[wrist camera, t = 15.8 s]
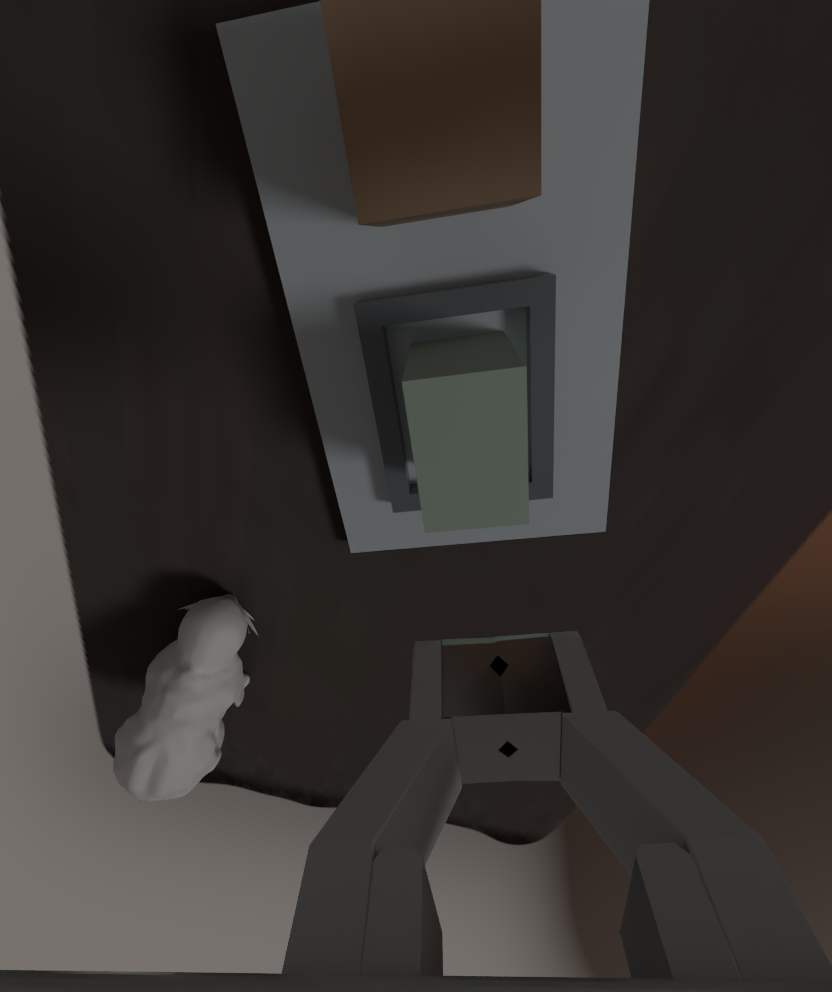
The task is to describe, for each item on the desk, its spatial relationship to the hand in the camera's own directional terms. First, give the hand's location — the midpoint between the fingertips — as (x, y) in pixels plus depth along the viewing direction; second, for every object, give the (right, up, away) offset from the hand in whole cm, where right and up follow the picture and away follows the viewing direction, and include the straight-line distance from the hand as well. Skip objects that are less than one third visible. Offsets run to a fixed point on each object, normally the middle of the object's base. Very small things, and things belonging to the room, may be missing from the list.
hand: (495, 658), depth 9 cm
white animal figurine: (-15, -7, +23) cm, 28 cm away
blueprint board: (0, +10, +12) cm, 16 cm away
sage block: (+1, +7, +13) cm, 15 cm away
